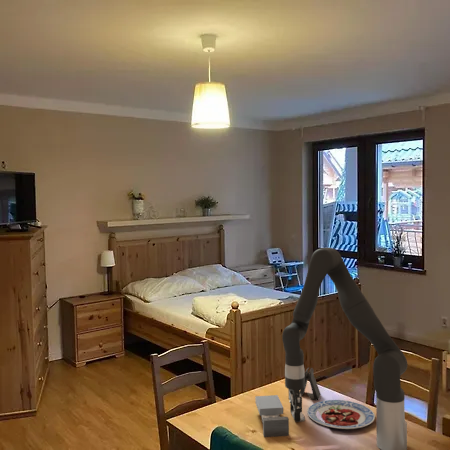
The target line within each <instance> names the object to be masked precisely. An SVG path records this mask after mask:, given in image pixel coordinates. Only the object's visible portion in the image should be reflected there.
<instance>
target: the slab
mask: <svg viewBox="0 0 450 450" xmlns="http://www.w3.org/2000/svg"><path fill="white" fill-rule="evenodd" d="M254 398H255V399H254V400H255V405H256V408H257V411H258V413H259V416H260V415H275V414H280V415H284V406H283V404H282V402H281V399H280V398H279V395H278V394H275V395H273V394H272V395H271V394H270V395H256V396H255V397H254Z"/></svg>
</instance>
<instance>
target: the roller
mask: <svg viewBox="0 0 450 450" xmlns="http://www.w3.org/2000/svg"><path fill="white" fill-rule="evenodd" d="M297 409H299V407H297ZM290 413H291V416H292V418H293V419H294V408H292V410H291V412H290ZM305 421H306V418H305V415H304V413H303V411H302V412H300V421H297V422H296V421H295V420H294V422H295V423H299V422H305Z"/></svg>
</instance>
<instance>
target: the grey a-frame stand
mask: <svg viewBox="0 0 450 450" xmlns="http://www.w3.org/2000/svg"><path fill="white" fill-rule="evenodd" d="M314 371H315V370H314V368H313V367H307V368H306V370H305V371H304V373H305V387H304V388H303V389H301V390H299V392H300V393H301V397H303V396H304V393H305V391H306V388H307V383H308V381H309V384H310V388H311V391H312V392H310V393H309V392H307V393H306V394H307V396H308V398H309V399H310V400H311V401H319V400H320V398H321V395H322V394H321V391H320V389H319V386H318V383H317V381H316V377H315V375H314Z"/></svg>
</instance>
